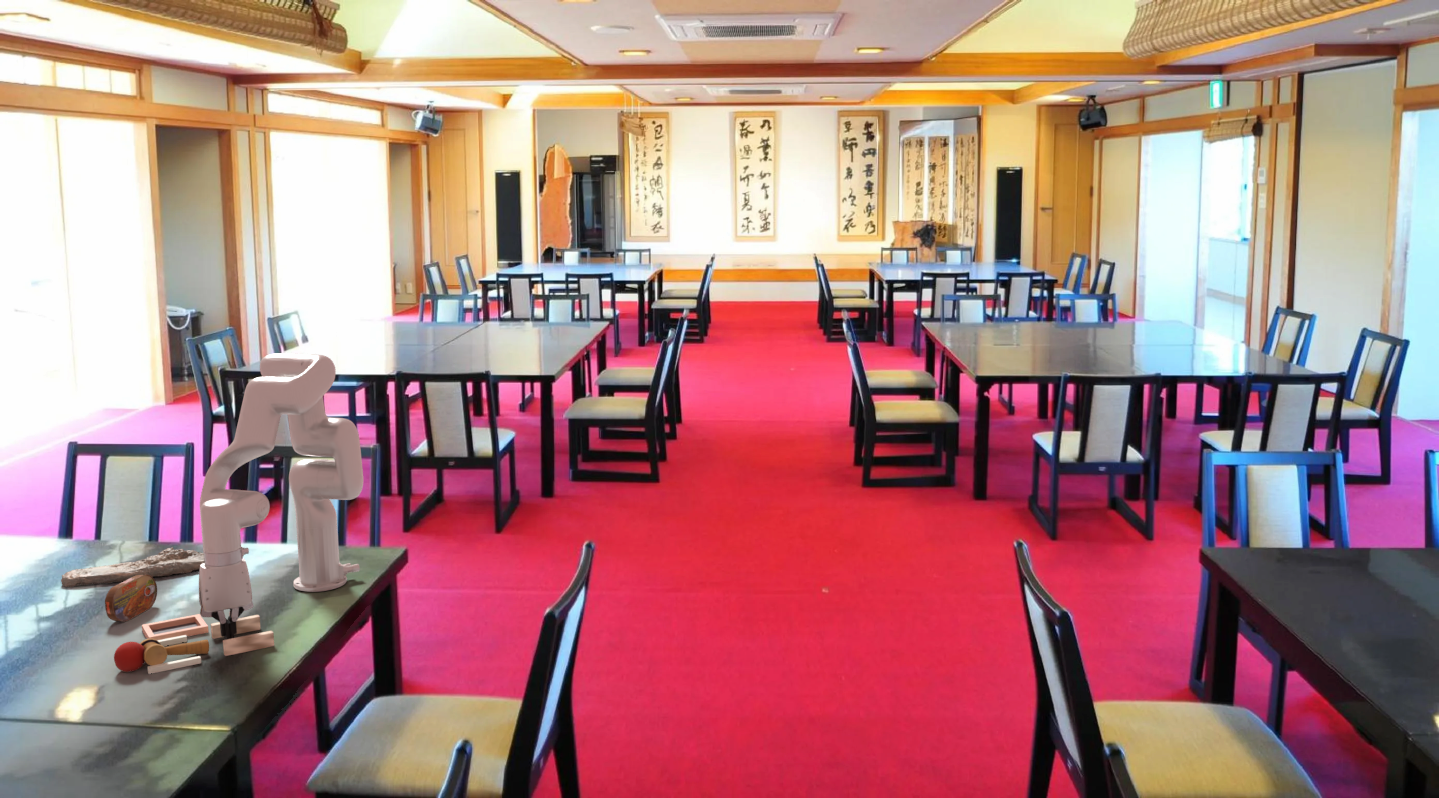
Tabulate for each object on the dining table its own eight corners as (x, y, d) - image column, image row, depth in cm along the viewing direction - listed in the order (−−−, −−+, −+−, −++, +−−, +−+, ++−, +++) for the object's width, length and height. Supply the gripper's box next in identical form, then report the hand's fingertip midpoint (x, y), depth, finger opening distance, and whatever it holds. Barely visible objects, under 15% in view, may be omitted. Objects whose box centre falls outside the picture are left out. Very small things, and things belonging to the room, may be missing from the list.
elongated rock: (63, 584, 301) (62, 599, 292) (59, 565, 300) (59, 579, 291) (213, 557, 316) (216, 570, 308) (210, 539, 315) (214, 551, 306)
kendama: (200, 652, 259) (108, 661, 247) (203, 625, 257) (111, 634, 246) (210, 669, 253) (116, 680, 242) (214, 642, 251) (120, 652, 240)
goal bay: (186, 639, 262) (185, 634, 261) (201, 663, 249) (200, 657, 249) (135, 649, 256) (135, 644, 256) (148, 674, 244) (148, 668, 244)
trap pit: (199, 620, 273) (199, 613, 273) (208, 632, 266) (208, 626, 266) (142, 631, 267) (141, 624, 266) (149, 644, 259) (149, 637, 259)
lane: (258, 627, 269) (258, 614, 269) (274, 645, 259) (273, 632, 258) (211, 636, 264) (210, 623, 263) (225, 655, 253) (224, 642, 252)
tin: (116, 627, 269) (112, 591, 268) (103, 626, 270) (100, 590, 268) (159, 604, 284) (156, 569, 282) (148, 603, 284) (145, 568, 283)
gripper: (255, 546, 263) (260, 625, 267) (181, 558, 255) (188, 639, 258) (263, 555, 257) (269, 636, 260) (188, 567, 249) (195, 651, 252)
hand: (229, 638), depth 259 cm, fingers closed
